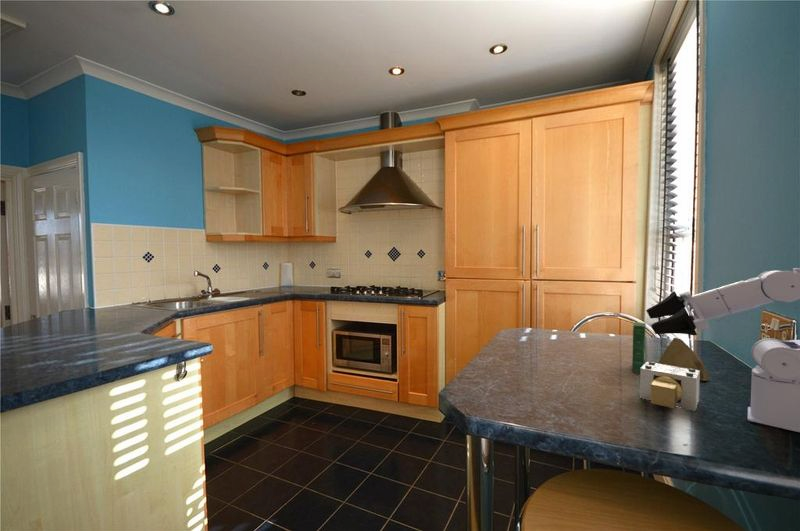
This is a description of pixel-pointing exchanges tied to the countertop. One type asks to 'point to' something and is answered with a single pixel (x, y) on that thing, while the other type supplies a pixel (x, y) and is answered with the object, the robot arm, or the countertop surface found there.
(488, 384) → the countertop surface
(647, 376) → the housing
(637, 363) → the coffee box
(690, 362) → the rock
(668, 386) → the gold rounded block
